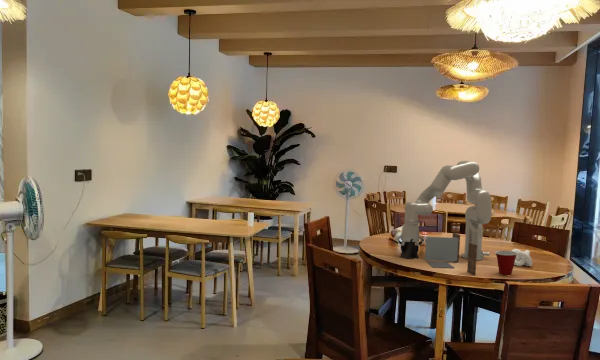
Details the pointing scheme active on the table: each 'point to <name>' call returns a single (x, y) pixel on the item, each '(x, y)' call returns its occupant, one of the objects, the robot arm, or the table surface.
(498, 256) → the plastic cup
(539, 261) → the table surface
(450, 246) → the grey flat panel
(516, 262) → the white knot sculpture
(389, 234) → the table surface
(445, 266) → the mat
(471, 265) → the frame
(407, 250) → the black a-shaped stand
